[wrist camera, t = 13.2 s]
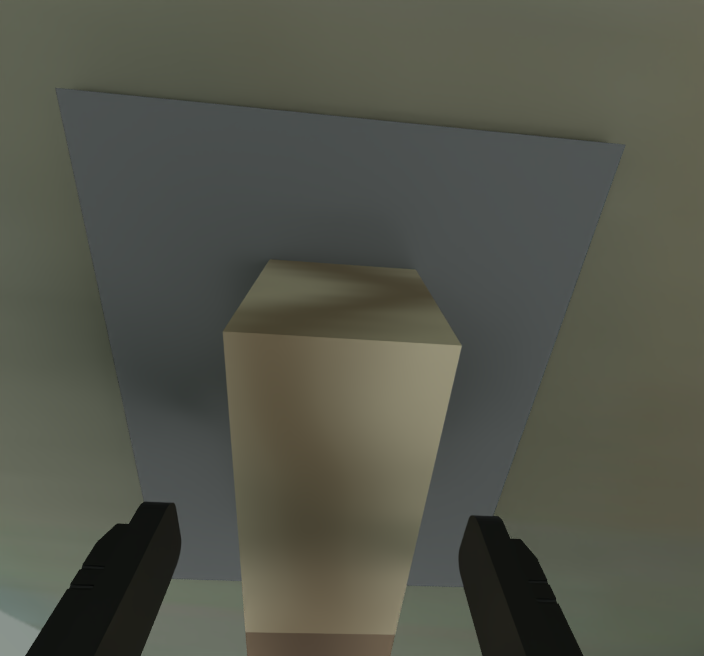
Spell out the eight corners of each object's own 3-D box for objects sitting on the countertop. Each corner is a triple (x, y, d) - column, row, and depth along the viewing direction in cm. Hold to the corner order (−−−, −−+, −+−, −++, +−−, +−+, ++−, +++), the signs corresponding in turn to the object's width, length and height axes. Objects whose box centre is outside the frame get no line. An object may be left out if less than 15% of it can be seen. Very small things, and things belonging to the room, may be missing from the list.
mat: (464, 574, 19) (467, 587, 19) (165, 566, 19) (160, 578, 18) (611, 144, 11) (625, 144, 10) (70, 90, 10) (55, 87, 9)
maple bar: (415, 269, 12) (461, 345, 7) (375, 529, 17) (387, 668, 12) (269, 259, 11) (223, 331, 7) (273, 525, 17) (248, 666, 12)
